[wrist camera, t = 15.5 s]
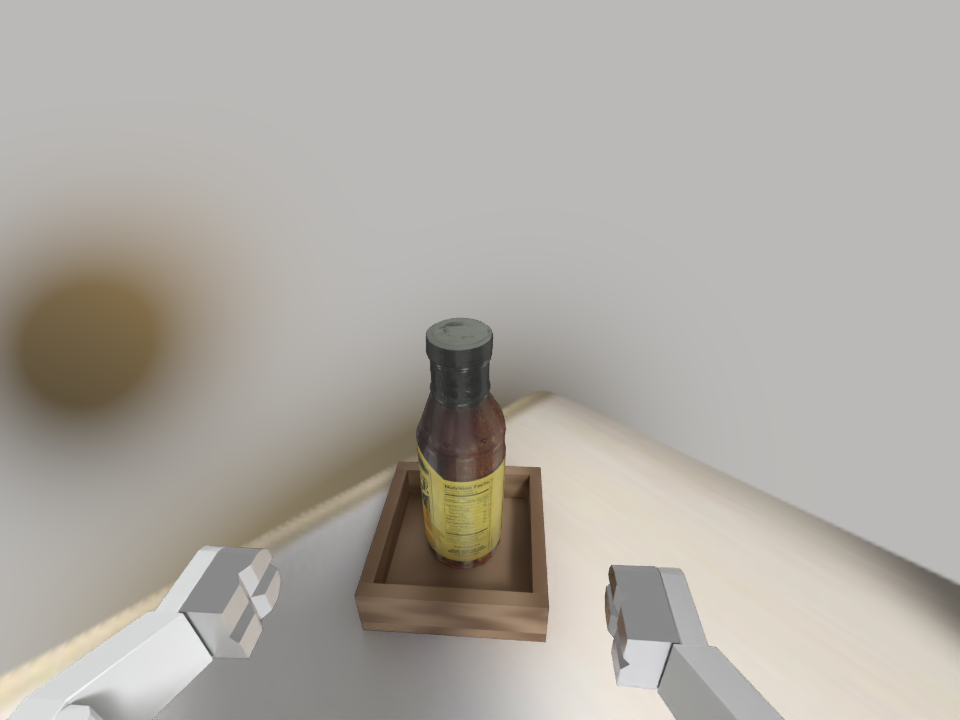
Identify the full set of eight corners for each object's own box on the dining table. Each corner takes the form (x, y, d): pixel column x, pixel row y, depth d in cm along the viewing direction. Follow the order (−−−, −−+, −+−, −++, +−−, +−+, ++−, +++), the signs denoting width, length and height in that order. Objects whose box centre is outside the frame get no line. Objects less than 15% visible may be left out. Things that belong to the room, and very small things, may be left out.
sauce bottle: (440, 504, 41) (429, 301, 30) (508, 519, 39) (520, 311, 29) (413, 568, 35) (390, 345, 25) (491, 587, 34) (499, 360, 24)
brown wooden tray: (538, 498, 42) (540, 467, 40) (545, 642, 31) (549, 608, 29) (403, 492, 43) (398, 461, 41) (363, 629, 32) (354, 596, 30)
